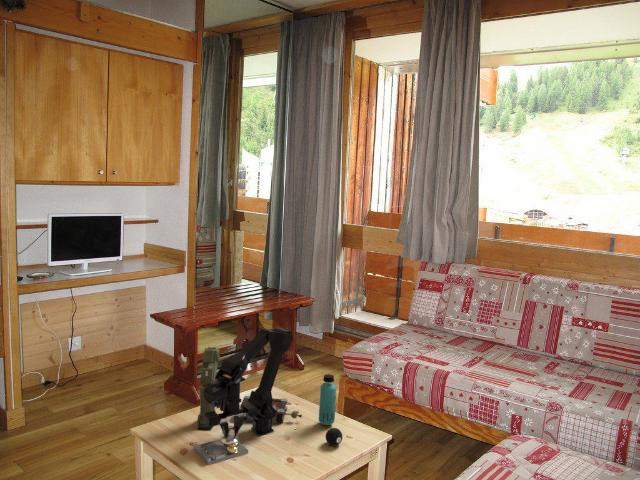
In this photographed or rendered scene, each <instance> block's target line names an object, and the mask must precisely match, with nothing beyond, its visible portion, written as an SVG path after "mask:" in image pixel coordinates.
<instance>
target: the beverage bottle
mask: <svg viewBox="0 0 640 480" xmlns="http://www.w3.org/2000/svg"><path fill="white" fill-rule="evenodd" d="M322 380H323V383H322V384H321V385H320V386H319V387H320V392H319V393H320V394H319V408H318V422H319V423H320V424H322V425H329V426H330V425H333V424H334V422H335V418H336V400H337V386H336V385H335V383H333V382H335V376H334V375H333V374H332V373H331V374H329V373H327V374H324V375H323V379H322Z"/></svg>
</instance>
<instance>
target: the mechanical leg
mask: <svg viewBox="0 0 640 480" xmlns="http://www.w3.org/2000/svg"><path fill="white" fill-rule="evenodd" d="M220 357H221V353H220V349H218V348H216V347H214V346H213V347H211V346H210V347H205V348H204V352H203V359H202V366H201V372H200V379H199V380H200V381H199V383H200V385H199V386H200V387H199V397H200V398H199V407H200V408H199V409H200V410H199V413H198V415H197V430H198V431H212V429H213V428H214V426H212V427H210V426H208V425H207V424H206V423H205V422H204V421H203V416H204V414H205V413H208V412H212V411H215V412H216V413H217V411H216V407H212V405H211V404H209V403H207V402H206V400H205V398H204V394H203V392H204V389H205V388H206V387H208V383H210V382H215V381H216V379H215V377H216V375H217V373H218V371H217V370H218V363H219V361H220V359H221V358H220Z"/></svg>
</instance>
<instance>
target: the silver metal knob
mask: <svg viewBox="0 0 640 480" xmlns="http://www.w3.org/2000/svg"><path fill="white" fill-rule="evenodd" d="M221 439H222V441H221V443H222V444H225V445H226V446H229V445H230V444H231V443H234V444H235V445H237V444H238V443H239V442H240V439H239V436H238V435H236V436H235V427H234V425H228V436H227V439H225V438H224V435H223V436H222V437H221Z"/></svg>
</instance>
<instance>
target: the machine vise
mask: <svg viewBox="0 0 640 480" xmlns="http://www.w3.org/2000/svg"><path fill="white" fill-rule="evenodd" d="M249 398H250V395H244V396H243V398H242V400H241V402H240V405H239V408H241V405H243V404H247V403H249V401H248V400H249ZM272 399H273V401H272V407H273V408H274V409H275V410H276V411H277V412H276V416H275V417H273V419H272V425H274V424H284V421H285V416H290V417H291V418H292V419H297V417H298V418H300V419H302V416H303V414H299V413H300V412H299V410H293V411H292V412H291V413H286V412H288V406H287V404H288V401H289V399H288V398H273V397H272ZM245 417H247V420H245V422H249V423H253V419H254V416H253V417H250V416H249V415H248V413H246V416H245Z"/></svg>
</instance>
